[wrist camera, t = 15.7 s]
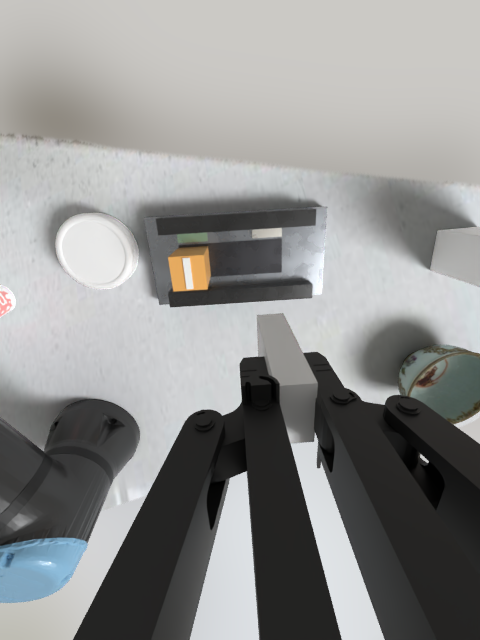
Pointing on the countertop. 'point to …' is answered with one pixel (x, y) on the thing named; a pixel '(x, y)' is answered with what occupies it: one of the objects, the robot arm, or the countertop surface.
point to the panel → (243, 254)
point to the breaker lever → (190, 268)
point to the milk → (458, 254)
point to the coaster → (96, 250)
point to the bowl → (443, 380)
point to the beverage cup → (6, 300)
